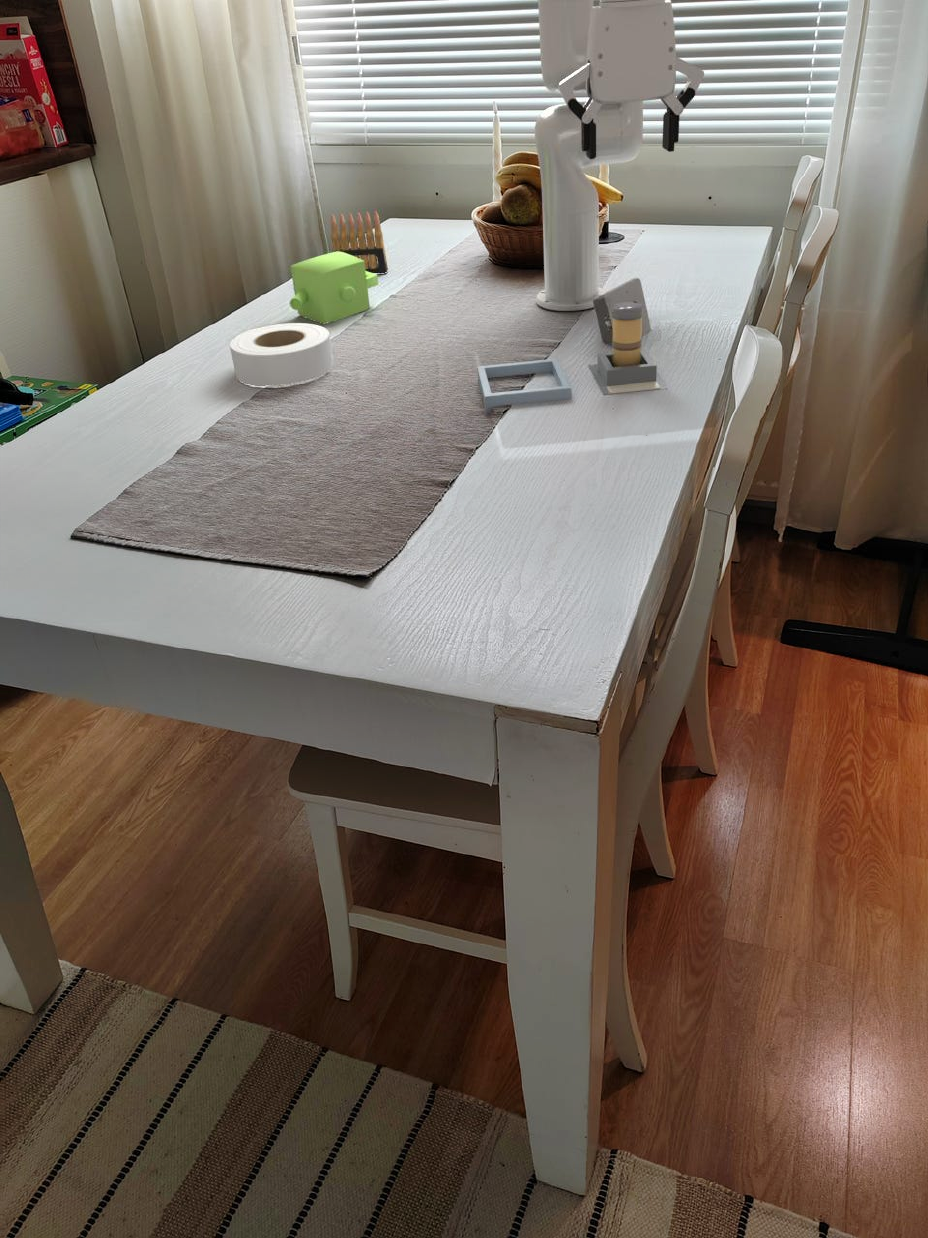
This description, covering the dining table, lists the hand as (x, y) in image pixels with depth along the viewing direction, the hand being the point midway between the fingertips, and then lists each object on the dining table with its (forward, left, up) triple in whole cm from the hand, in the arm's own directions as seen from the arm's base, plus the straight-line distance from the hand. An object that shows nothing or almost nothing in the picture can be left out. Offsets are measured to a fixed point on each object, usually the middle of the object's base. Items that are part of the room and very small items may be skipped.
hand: (629, 153), depth 122 cm
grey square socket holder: (-4, +1, -31) cm, 31 cm away
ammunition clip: (-77, -38, -31) cm, 91 cm away
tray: (-4, -14, -31) cm, 34 cm away
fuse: (-4, +1, -30) cm, 30 cm away
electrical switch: (-21, +4, -32) cm, 38 cm away
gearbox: (-51, -43, -32) cm, 74 cm away
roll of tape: (-24, -50, -32) cm, 64 cm away
